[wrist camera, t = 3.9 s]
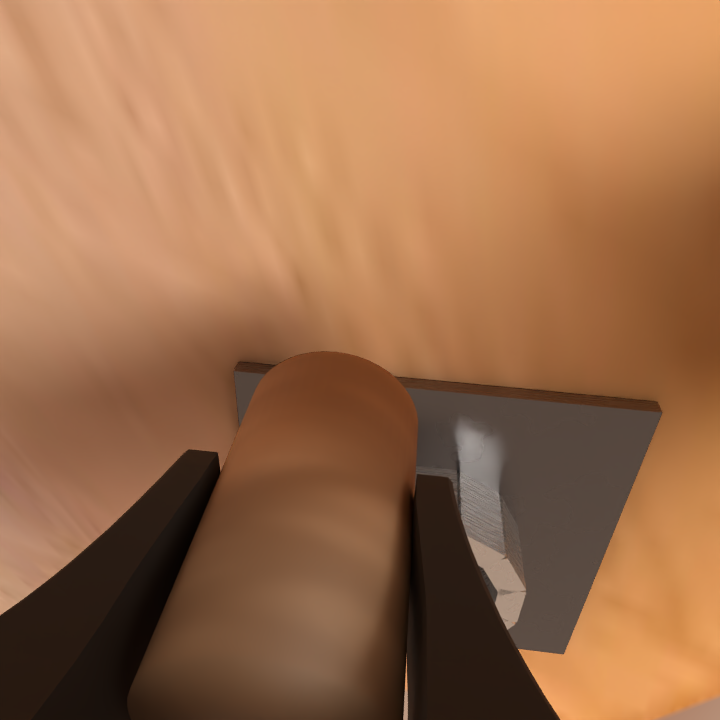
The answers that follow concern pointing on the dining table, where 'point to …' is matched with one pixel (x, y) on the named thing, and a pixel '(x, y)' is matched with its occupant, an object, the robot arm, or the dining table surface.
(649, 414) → the socket
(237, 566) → the peg
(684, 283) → the dining table surface
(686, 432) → the dining table surface
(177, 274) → the dining table surface
